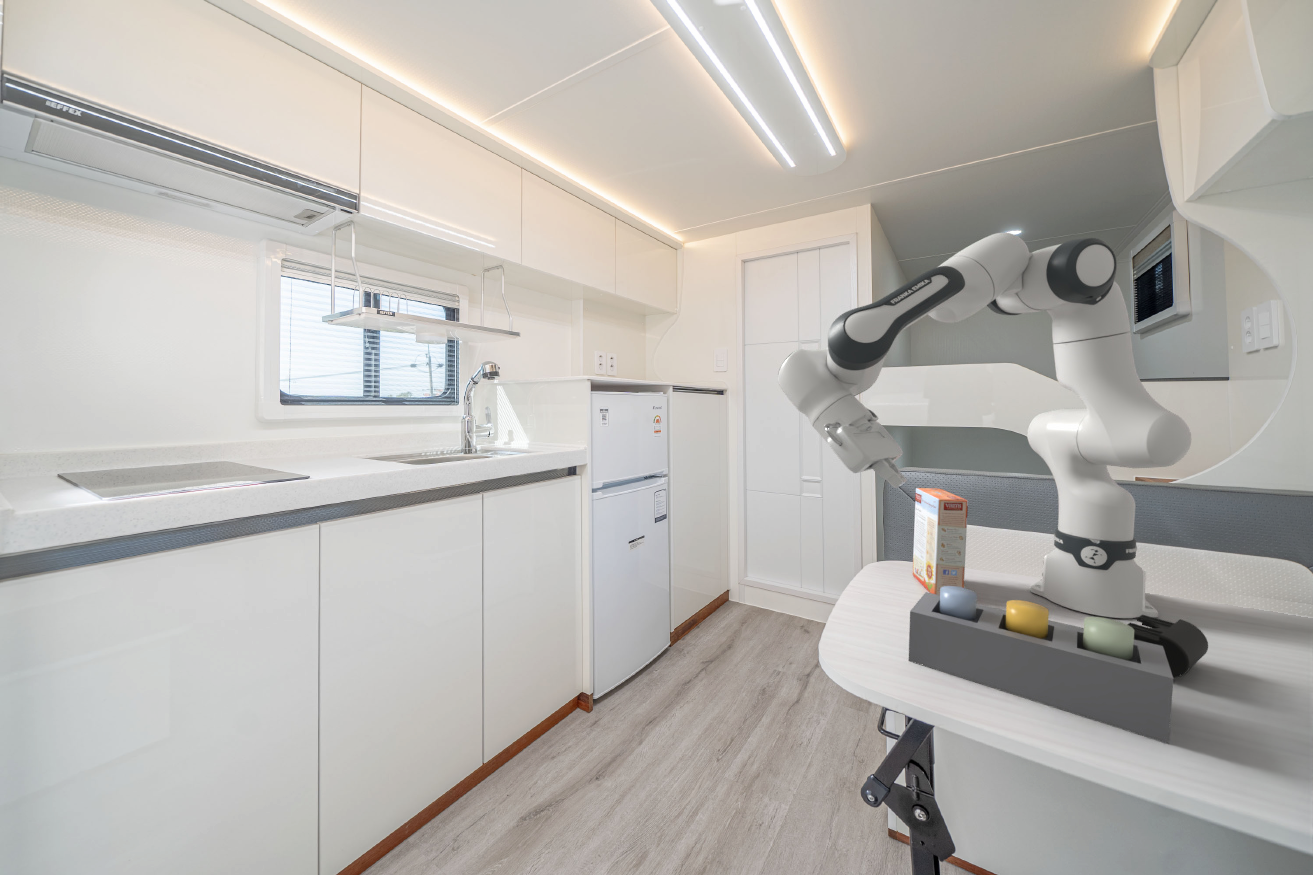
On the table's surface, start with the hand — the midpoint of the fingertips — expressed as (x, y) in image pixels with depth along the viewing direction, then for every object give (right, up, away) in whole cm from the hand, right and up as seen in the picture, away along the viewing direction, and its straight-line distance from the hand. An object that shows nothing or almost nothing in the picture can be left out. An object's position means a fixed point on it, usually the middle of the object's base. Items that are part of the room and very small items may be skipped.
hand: (901, 484), depth 80 cm
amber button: (+13, -20, -11) cm, 26 cm away
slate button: (+6, -20, -5) cm, 21 cm away
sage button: (+19, -20, -16) cm, 32 cm away
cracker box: (+21, -25, +25) cm, 41 cm away
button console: (+13, -27, -10) cm, 32 cm away
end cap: (+36, -27, -7) cm, 46 cm away
